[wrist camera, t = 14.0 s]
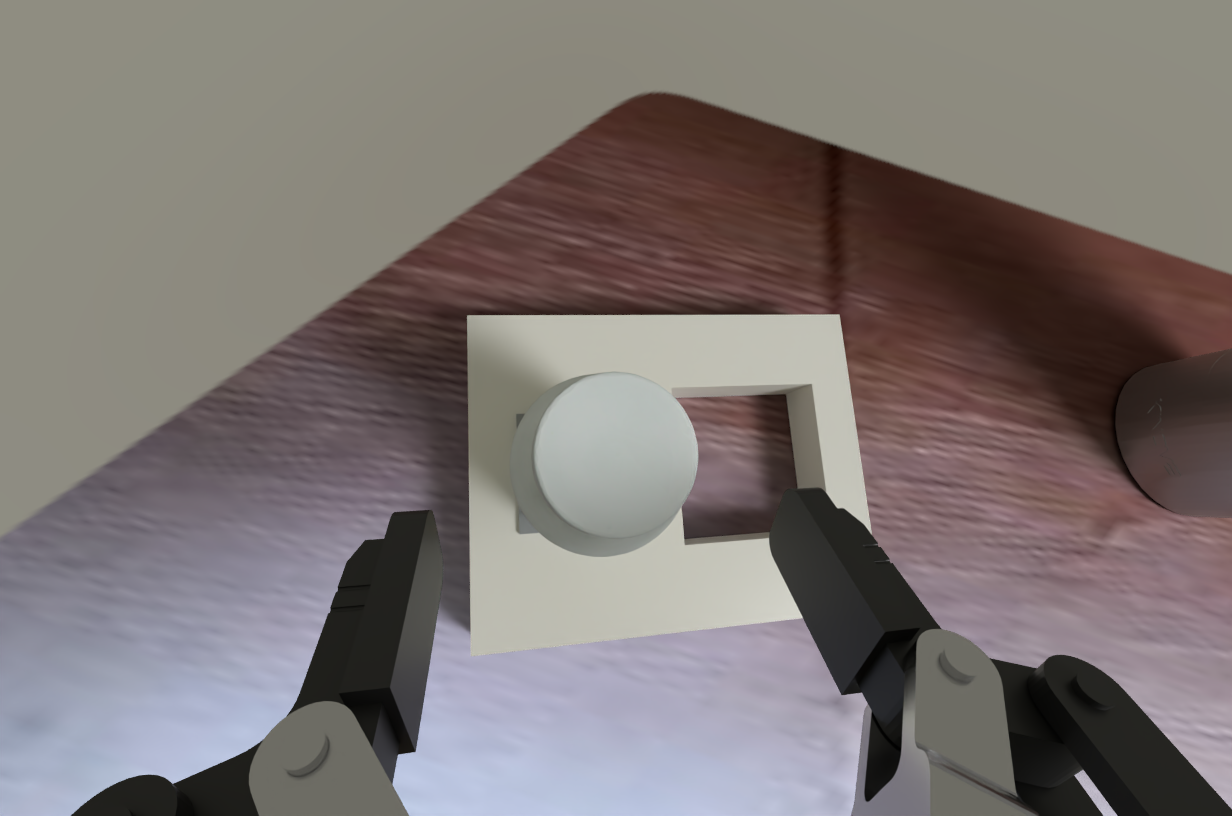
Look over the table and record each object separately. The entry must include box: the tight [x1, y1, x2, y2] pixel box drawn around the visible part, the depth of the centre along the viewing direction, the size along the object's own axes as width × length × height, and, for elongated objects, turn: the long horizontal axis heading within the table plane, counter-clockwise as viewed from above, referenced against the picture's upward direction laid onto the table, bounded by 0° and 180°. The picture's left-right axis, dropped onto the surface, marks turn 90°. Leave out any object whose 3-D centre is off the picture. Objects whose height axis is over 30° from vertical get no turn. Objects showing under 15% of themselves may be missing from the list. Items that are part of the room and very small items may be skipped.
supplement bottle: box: [509, 371, 698, 557], centre depth 16 cm, size 5×5×10 cm
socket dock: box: [467, 315, 872, 656], centre depth 23 cm, size 18×14×3 cm
